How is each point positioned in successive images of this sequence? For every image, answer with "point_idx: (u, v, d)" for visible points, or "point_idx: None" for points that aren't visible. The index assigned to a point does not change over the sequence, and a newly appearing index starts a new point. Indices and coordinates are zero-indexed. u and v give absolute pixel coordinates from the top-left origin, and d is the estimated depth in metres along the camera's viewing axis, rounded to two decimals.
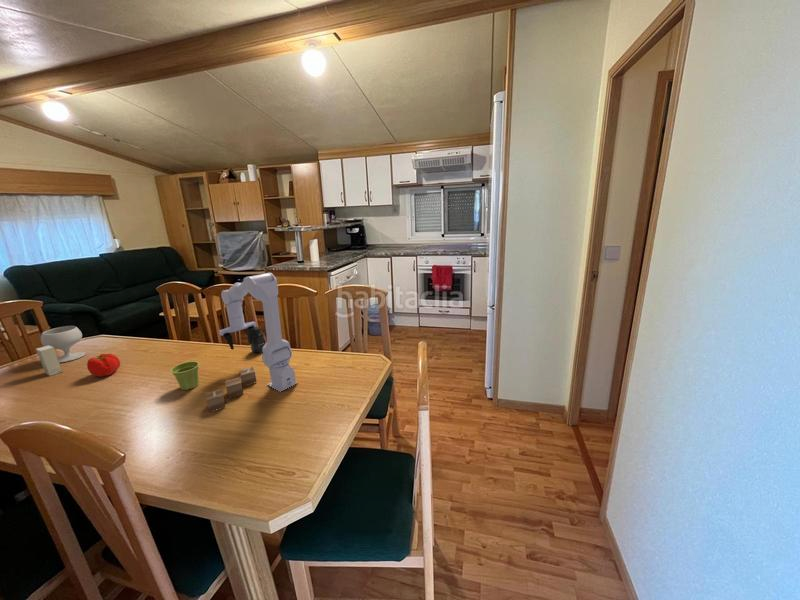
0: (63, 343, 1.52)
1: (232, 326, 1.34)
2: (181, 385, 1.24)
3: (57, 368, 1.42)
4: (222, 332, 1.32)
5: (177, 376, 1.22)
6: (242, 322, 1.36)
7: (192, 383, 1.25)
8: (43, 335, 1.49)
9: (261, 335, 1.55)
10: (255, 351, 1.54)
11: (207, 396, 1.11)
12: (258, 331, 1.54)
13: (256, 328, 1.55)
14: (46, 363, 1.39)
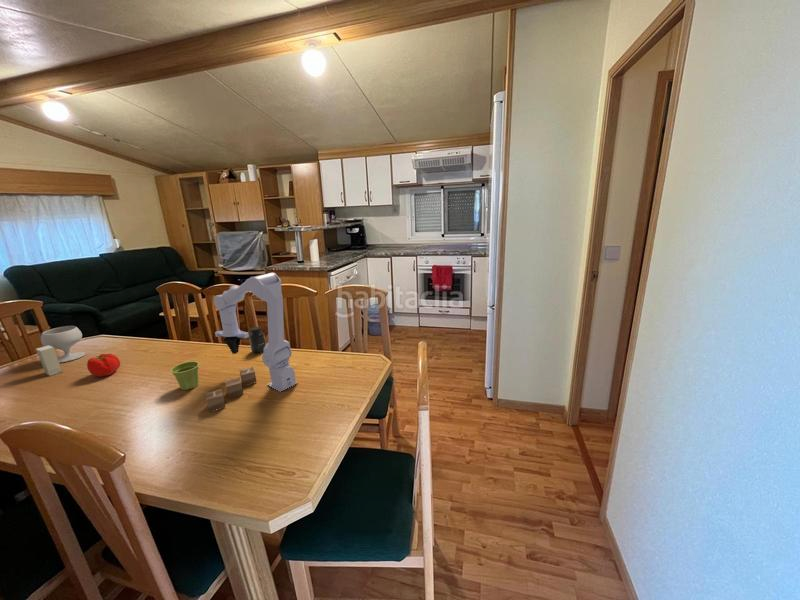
0: (63, 343, 1.52)
1: None
2: (181, 385, 1.24)
3: (57, 368, 1.42)
4: (216, 333, 1.33)
5: (177, 376, 1.22)
6: (229, 330, 1.29)
7: (192, 383, 1.25)
8: (43, 335, 1.49)
9: (261, 335, 1.55)
10: (255, 351, 1.54)
11: (207, 396, 1.11)
12: (258, 331, 1.54)
13: (256, 328, 1.55)
14: (46, 363, 1.39)
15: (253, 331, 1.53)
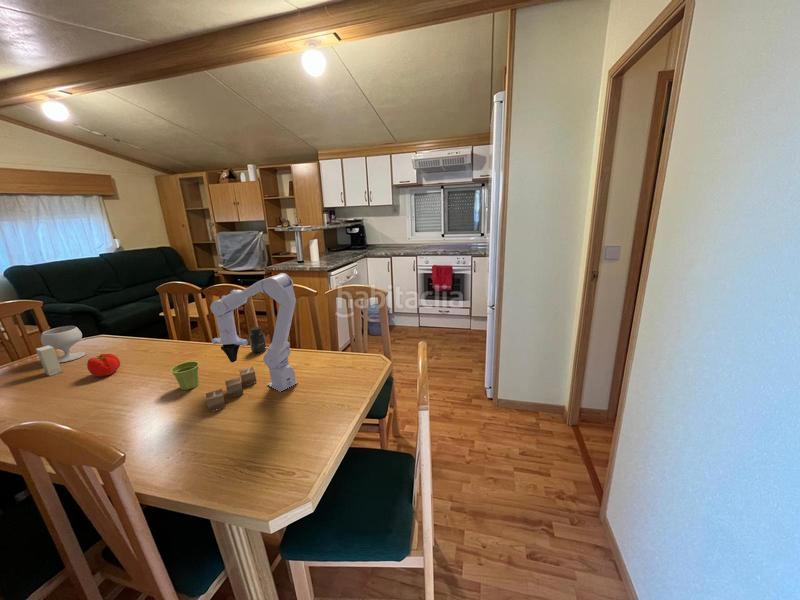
0: (63, 343, 1.52)
1: None
2: (181, 385, 1.24)
3: (57, 368, 1.42)
4: (213, 341, 1.25)
5: (177, 376, 1.22)
6: (226, 337, 1.21)
7: (192, 383, 1.25)
8: (43, 335, 1.49)
9: (261, 335, 1.55)
10: (255, 351, 1.54)
11: (207, 396, 1.11)
12: (258, 331, 1.54)
13: (256, 328, 1.55)
14: (46, 363, 1.39)
15: (253, 331, 1.53)
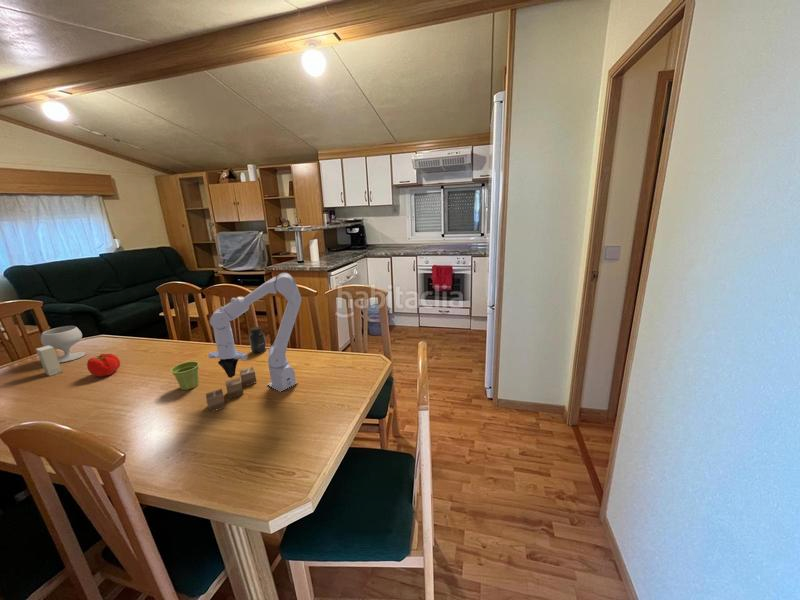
0: (63, 343, 1.52)
1: None
2: (181, 385, 1.24)
3: (57, 368, 1.42)
4: (210, 355, 1.17)
5: (177, 376, 1.22)
6: (225, 351, 1.14)
7: (192, 383, 1.25)
8: (43, 335, 1.49)
9: (261, 335, 1.55)
10: (255, 351, 1.54)
11: (207, 396, 1.11)
12: (258, 331, 1.54)
13: (256, 328, 1.55)
14: (46, 363, 1.39)
15: (253, 331, 1.53)
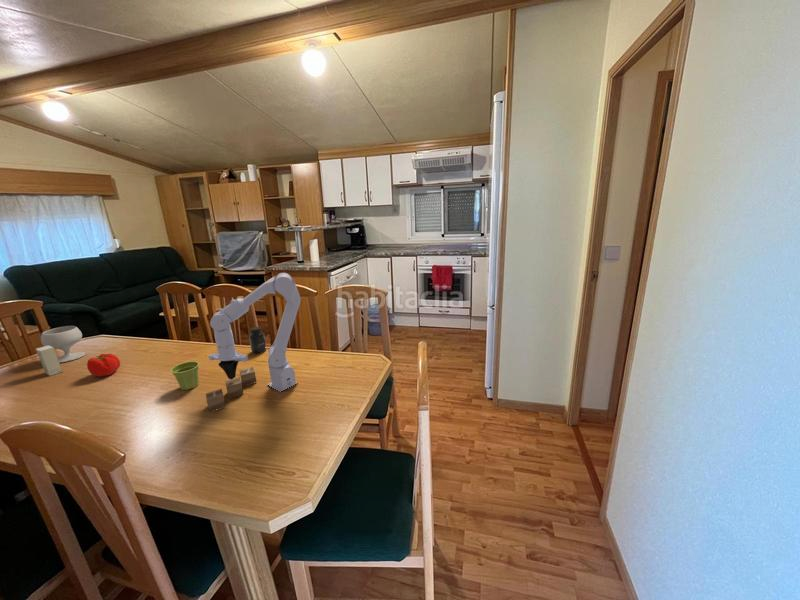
0: (63, 343, 1.52)
1: None
2: (181, 385, 1.24)
3: (57, 368, 1.42)
4: (210, 357, 1.17)
5: (177, 376, 1.22)
6: (225, 353, 1.14)
7: (192, 383, 1.25)
8: (43, 335, 1.49)
9: (261, 335, 1.55)
10: (255, 351, 1.54)
11: (207, 396, 1.11)
12: (258, 331, 1.54)
13: (256, 328, 1.55)
14: (46, 363, 1.39)
15: (253, 331, 1.53)
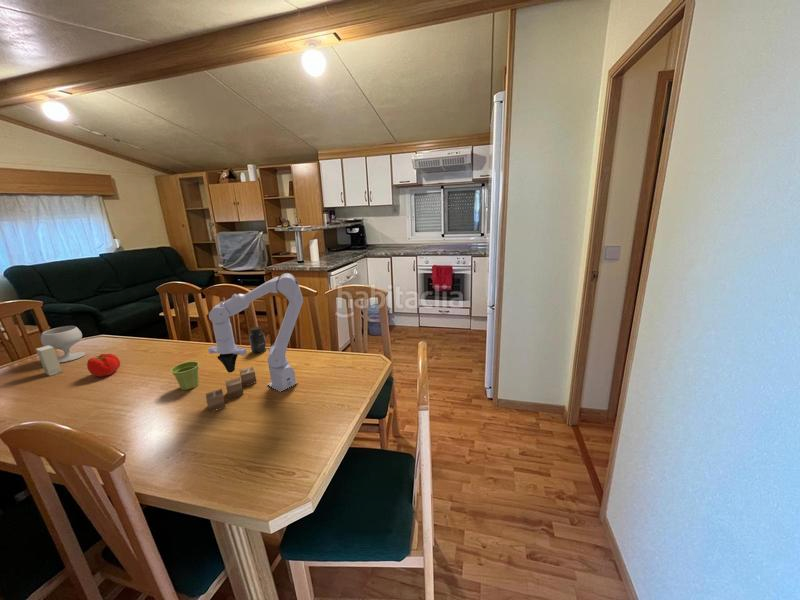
0: (63, 343, 1.52)
1: None
2: (181, 385, 1.24)
3: (57, 368, 1.42)
4: (209, 350, 1.17)
5: (177, 376, 1.22)
6: (224, 346, 1.14)
7: (192, 383, 1.25)
8: (43, 335, 1.49)
9: (261, 335, 1.55)
10: (255, 351, 1.54)
11: (207, 396, 1.11)
12: (258, 331, 1.54)
13: (256, 328, 1.55)
14: (46, 363, 1.39)
15: (253, 331, 1.53)
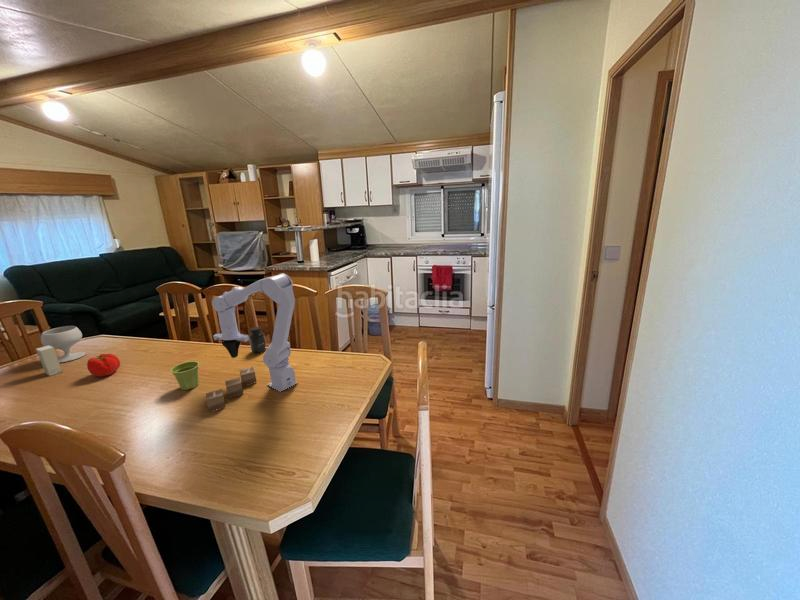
0: (63, 343, 1.52)
1: None
2: (181, 385, 1.24)
3: (57, 368, 1.42)
4: (214, 337, 1.26)
5: (177, 376, 1.22)
6: (228, 333, 1.23)
7: (192, 383, 1.25)
8: (43, 335, 1.49)
9: (261, 335, 1.55)
10: (255, 351, 1.54)
11: (207, 396, 1.11)
12: (258, 331, 1.54)
13: (256, 328, 1.55)
14: (46, 363, 1.39)
15: (253, 331, 1.53)
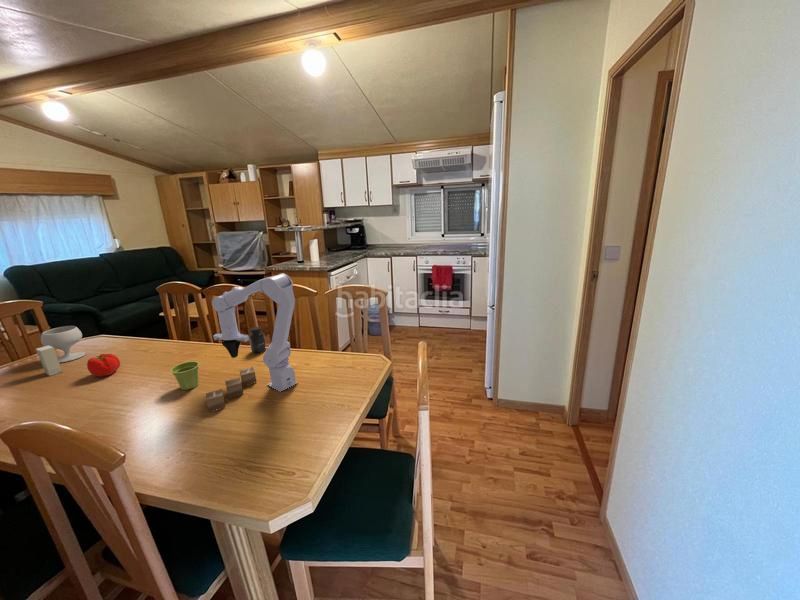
0: (63, 343, 1.52)
1: None
2: (181, 385, 1.24)
3: (57, 368, 1.42)
4: (214, 337, 1.26)
5: (177, 376, 1.22)
6: (228, 333, 1.23)
7: (192, 383, 1.25)
8: (43, 335, 1.49)
9: (261, 335, 1.55)
10: (255, 351, 1.54)
11: (207, 396, 1.11)
12: (258, 331, 1.54)
13: (256, 328, 1.55)
14: (46, 363, 1.39)
15: (253, 331, 1.53)
